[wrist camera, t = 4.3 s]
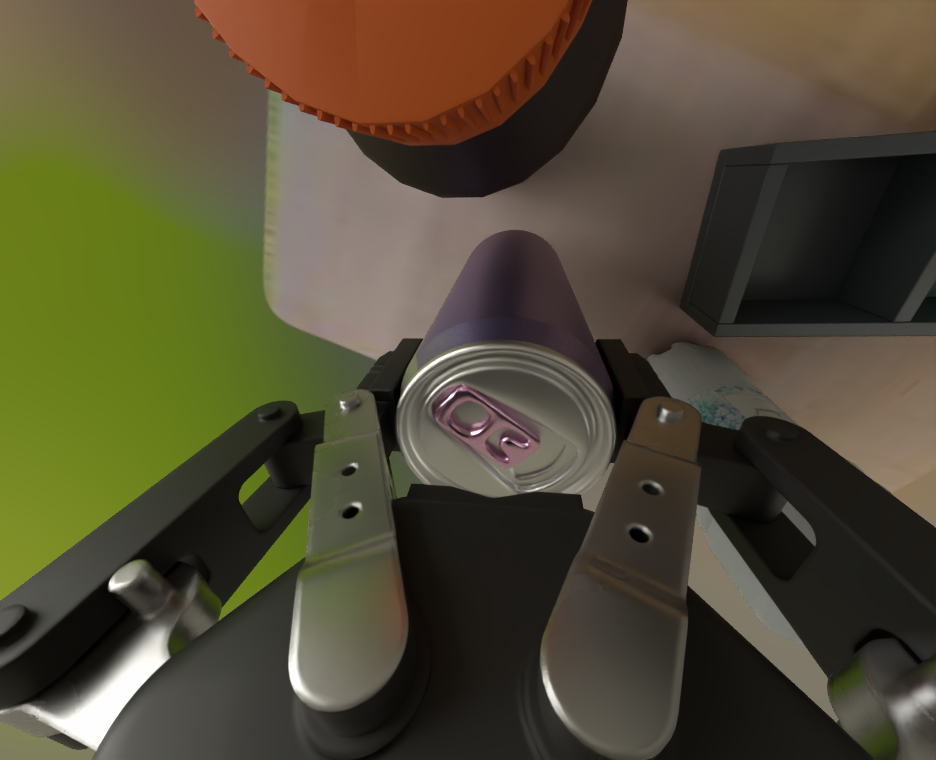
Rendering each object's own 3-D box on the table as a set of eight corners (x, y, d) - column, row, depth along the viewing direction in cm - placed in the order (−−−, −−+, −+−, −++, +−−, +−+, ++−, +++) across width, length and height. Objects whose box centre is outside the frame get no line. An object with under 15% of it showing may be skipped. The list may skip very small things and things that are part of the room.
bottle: (746, 362, 25) (1221, 761, 8) (672, 421, 28) (898, 791, 11) (676, 314, 24) (1059, 658, 7) (608, 381, 27) (753, 725, 10)
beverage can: (508, 204, 19) (486, 276, 7) (583, 274, 21) (682, 444, 8) (446, 285, 22) (346, 444, 9) (515, 341, 24) (509, 545, 11)
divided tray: (719, 149, 19) (776, 142, 15) (1113, 120, 17) (1316, 102, 12) (679, 307, 24) (713, 337, 19) (982, 303, 21) (1098, 335, 17)
